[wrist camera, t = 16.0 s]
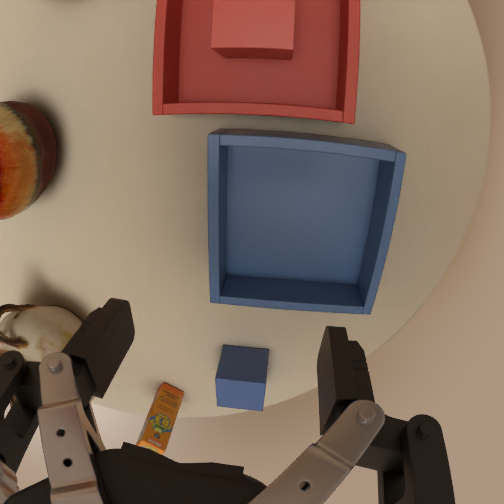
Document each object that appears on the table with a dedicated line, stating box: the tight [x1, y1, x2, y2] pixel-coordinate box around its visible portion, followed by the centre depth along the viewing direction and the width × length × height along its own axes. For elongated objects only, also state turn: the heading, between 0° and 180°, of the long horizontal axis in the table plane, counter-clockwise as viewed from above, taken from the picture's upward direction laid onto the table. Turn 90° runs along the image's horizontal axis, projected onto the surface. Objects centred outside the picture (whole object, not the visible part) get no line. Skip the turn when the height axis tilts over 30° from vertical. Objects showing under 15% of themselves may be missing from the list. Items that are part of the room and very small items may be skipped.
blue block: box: [215, 345, 269, 411], centre depth 33 cm, size 5×5×5 cm
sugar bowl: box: [0, 304, 95, 407], centre depth 30 cm, size 20×15×15 cm
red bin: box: [153, 0, 360, 124], centre depth 18 cm, size 14×14×4 cm
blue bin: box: [208, 129, 406, 314], centre depth 25 cm, size 14×14×4 cm
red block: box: [210, 0, 296, 60], centre depth 17 cm, size 5×5×5 cm
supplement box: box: [136, 383, 184, 455], centre depth 35 cm, size 3×3×10 cm
